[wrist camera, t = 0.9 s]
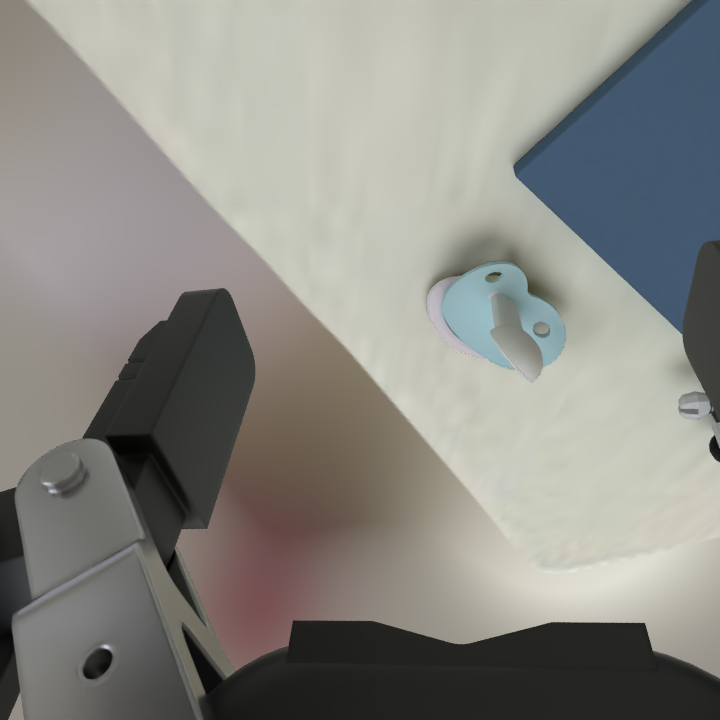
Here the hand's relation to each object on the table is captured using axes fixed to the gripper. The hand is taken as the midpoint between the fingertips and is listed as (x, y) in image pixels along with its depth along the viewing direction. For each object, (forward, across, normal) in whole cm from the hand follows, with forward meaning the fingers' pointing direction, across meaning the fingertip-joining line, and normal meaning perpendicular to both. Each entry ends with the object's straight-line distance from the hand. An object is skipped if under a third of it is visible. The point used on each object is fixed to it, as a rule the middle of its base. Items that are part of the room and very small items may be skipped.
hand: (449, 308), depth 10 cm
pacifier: (+18, -2, +13) cm, 22 cm away
